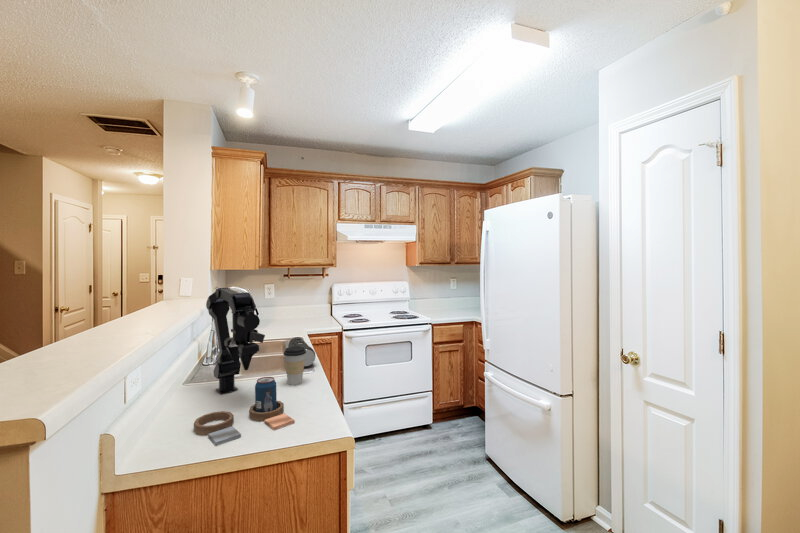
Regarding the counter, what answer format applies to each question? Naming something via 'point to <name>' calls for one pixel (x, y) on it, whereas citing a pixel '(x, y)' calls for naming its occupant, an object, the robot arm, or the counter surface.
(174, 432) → the counter surface
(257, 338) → the robot arm
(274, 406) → the soda can
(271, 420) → the terracotta tag ring
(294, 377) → the coffee cup
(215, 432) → the grey tag ring
